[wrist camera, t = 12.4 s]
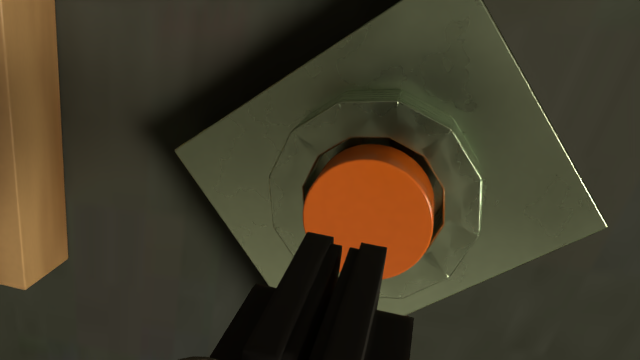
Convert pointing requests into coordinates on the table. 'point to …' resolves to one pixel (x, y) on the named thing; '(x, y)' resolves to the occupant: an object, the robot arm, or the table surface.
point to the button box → (404, 149)
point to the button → (373, 204)
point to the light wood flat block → (30, 145)
